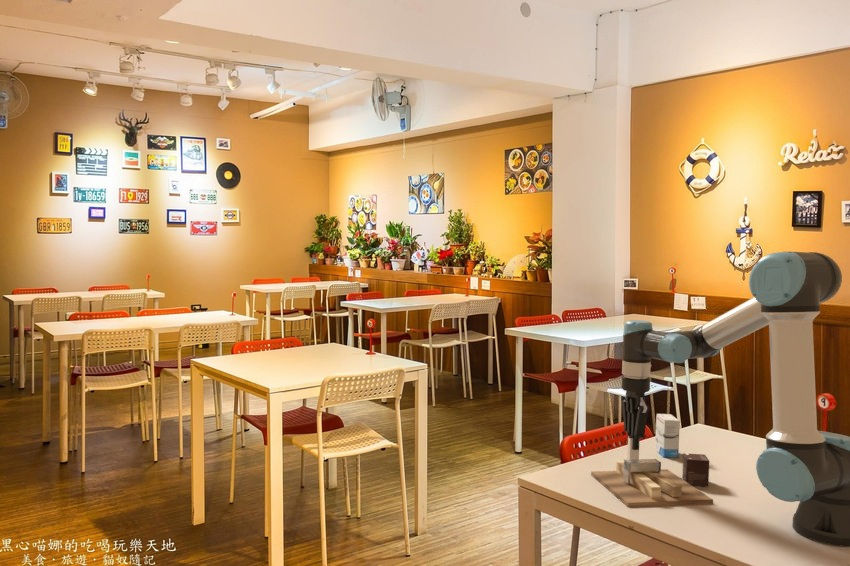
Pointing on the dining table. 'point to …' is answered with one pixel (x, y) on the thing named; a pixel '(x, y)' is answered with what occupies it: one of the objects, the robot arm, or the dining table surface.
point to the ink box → (667, 435)
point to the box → (696, 469)
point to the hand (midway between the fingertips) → (633, 459)
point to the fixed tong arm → (641, 482)
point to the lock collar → (640, 467)
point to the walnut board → (637, 498)
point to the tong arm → (665, 483)
